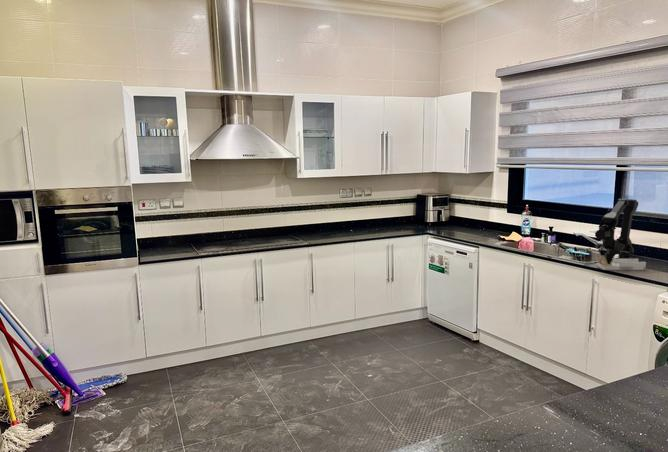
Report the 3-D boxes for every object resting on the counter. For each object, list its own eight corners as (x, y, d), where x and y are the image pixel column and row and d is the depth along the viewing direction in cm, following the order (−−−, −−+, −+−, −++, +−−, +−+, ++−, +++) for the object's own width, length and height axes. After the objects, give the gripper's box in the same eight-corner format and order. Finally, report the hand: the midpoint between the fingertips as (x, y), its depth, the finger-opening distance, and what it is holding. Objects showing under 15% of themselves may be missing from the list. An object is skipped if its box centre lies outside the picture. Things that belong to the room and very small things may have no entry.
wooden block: (599, 263, 275) (599, 255, 274) (607, 263, 274) (608, 255, 273) (603, 265, 270) (603, 257, 269) (612, 265, 269) (612, 257, 268)
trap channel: (596, 265, 277) (597, 258, 276) (636, 265, 274) (637, 258, 274) (603, 269, 268) (604, 262, 267) (645, 269, 265) (645, 262, 265)
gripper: (631, 240, 259) (629, 266, 262) (615, 234, 277) (613, 259, 280) (610, 240, 260) (608, 266, 263) (595, 234, 279) (594, 259, 281)
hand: (606, 262), depth 272 cm, fingers closed on wooden block, 5 cm apart
